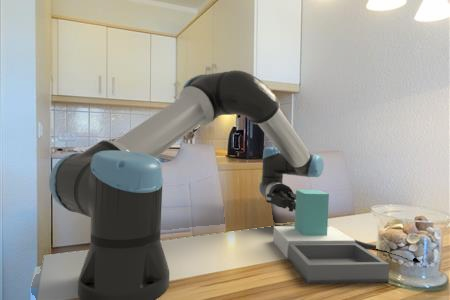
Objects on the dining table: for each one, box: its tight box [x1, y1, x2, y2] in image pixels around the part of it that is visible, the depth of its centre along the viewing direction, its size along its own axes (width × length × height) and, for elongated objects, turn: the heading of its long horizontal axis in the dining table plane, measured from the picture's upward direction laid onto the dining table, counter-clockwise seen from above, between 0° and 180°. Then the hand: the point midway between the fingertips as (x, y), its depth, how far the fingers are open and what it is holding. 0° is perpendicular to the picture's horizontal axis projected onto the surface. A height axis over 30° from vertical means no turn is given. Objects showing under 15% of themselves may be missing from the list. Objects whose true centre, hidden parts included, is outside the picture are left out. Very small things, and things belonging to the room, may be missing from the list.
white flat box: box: [272, 225, 356, 260], centre depth 78 cm, size 16×12×4 cm
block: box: [294, 189, 330, 235], centre depth 79 cm, size 6×6×10 cm
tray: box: [287, 243, 390, 285], centre depth 66 cm, size 16×12×4 cm
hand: (304, 209), depth 84 cm, fingers closed
